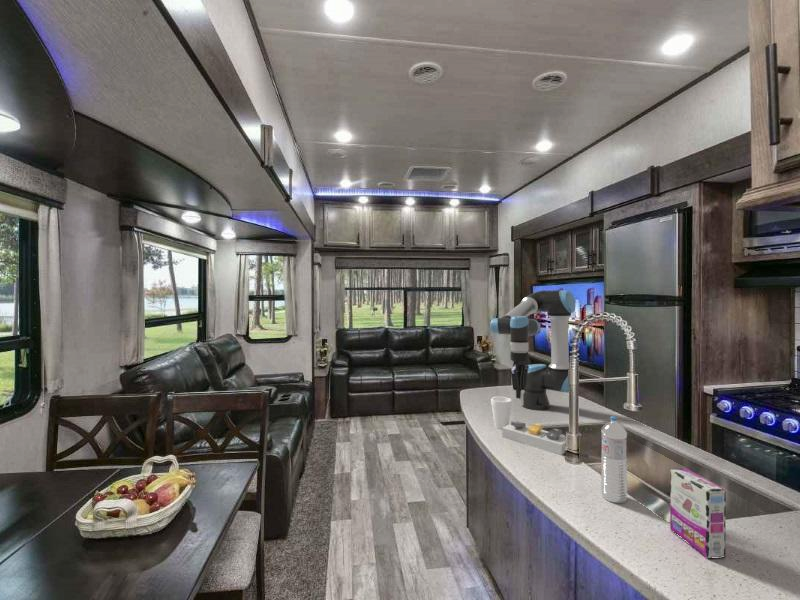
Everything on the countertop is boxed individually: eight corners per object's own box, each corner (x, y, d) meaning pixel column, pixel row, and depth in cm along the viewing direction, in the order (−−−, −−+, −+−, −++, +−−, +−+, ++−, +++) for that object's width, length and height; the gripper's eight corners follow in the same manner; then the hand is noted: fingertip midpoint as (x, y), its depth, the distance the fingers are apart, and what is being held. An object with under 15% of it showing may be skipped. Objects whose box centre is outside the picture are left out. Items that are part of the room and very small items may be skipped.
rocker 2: (553, 430, 154) (552, 427, 154) (561, 433, 151) (561, 429, 151) (546, 437, 150) (546, 434, 150) (555, 440, 147) (555, 436, 147)
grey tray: (513, 430, 169) (513, 420, 169) (592, 453, 145) (592, 441, 144) (502, 436, 162) (502, 426, 162) (583, 461, 138) (582, 449, 138)
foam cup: (509, 423, 179) (509, 396, 179) (513, 430, 170) (513, 402, 170) (489, 423, 180) (489, 396, 180) (492, 429, 171) (492, 402, 171)
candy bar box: (727, 558, 87) (727, 489, 87) (707, 560, 86) (707, 490, 86) (686, 528, 98) (686, 467, 98) (669, 530, 98) (669, 468, 97)
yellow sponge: (535, 426, 160) (534, 423, 159) (543, 428, 157) (542, 425, 157) (528, 432, 156) (528, 429, 155) (536, 434, 153) (536, 431, 153)
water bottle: (626, 506, 108) (626, 422, 108) (600, 500, 112) (600, 418, 112) (627, 496, 114) (627, 415, 114) (601, 490, 118) (601, 412, 117)
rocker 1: (517, 424, 165) (518, 421, 166) (525, 426, 163) (525, 423, 163) (510, 425, 161) (511, 421, 161) (518, 427, 159) (518, 423, 159)
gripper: (518, 348, 168) (519, 400, 169) (504, 352, 159) (504, 406, 160) (534, 350, 163) (534, 403, 163) (520, 354, 154) (520, 410, 154)
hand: (519, 405), depth 162 cm, fingers closed
